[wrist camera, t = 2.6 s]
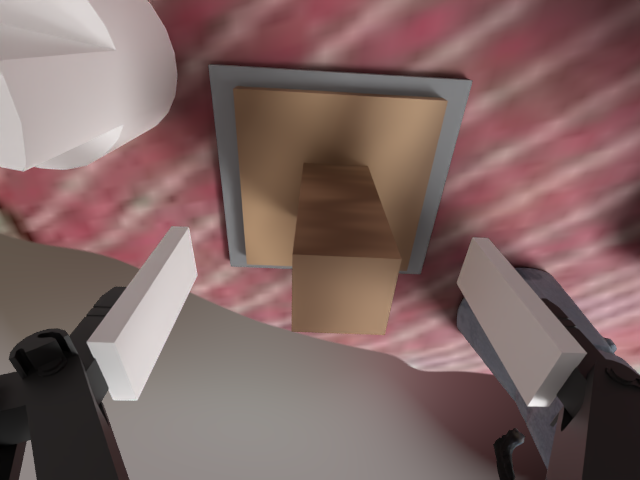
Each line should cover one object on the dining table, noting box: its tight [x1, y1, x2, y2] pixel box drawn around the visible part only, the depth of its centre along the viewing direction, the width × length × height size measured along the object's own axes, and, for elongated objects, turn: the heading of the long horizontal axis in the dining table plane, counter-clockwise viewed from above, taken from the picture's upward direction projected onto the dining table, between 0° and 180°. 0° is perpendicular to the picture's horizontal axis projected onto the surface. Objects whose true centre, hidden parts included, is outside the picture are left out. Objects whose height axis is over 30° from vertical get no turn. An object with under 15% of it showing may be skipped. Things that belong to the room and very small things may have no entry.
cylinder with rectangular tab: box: [0, 0, 178, 171], centre depth 14 cm, size 9×9×12 cm
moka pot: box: [457, 268, 640, 480], centre depth 21 cm, size 10×15×20 cm, turn 149°
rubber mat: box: [208, 64, 472, 274], centre depth 23 cm, size 15×14×1 cm
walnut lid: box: [233, 86, 448, 335], centre depth 18 cm, size 12×12×11 cm
